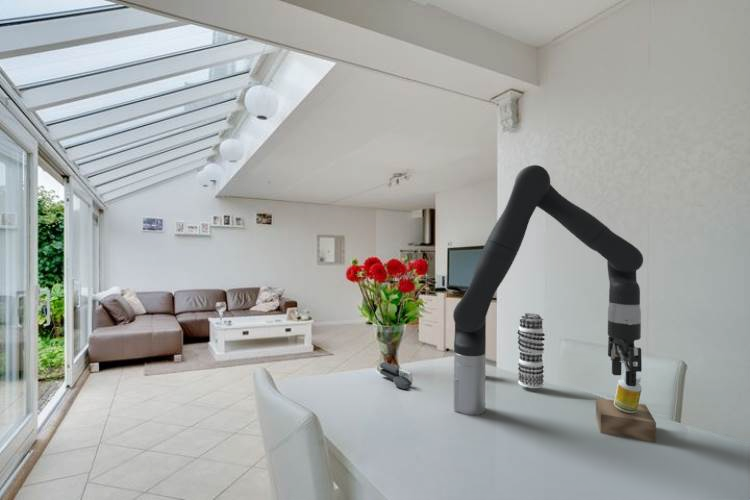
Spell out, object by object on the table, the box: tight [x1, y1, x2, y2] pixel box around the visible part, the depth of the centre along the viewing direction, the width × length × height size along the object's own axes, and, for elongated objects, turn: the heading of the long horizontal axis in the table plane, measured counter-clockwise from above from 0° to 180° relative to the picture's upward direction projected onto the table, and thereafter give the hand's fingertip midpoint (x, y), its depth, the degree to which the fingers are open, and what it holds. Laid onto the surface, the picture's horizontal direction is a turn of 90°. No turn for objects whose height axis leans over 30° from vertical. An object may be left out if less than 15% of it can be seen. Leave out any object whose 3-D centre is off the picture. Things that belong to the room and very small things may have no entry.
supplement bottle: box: [613, 371, 643, 413], centre depth 105 cm, size 5×5×10 cm
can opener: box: [379, 362, 414, 390], centre depth 146 cm, size 19×6×5 cm, turn 30°
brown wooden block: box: [595, 397, 657, 443], centre depth 106 cm, size 12×12×6 cm
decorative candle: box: [516, 312, 546, 389], centre depth 142 cm, size 9×9×25 cm
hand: (623, 380), depth 106 cm, fingers open, 8 cm apart
